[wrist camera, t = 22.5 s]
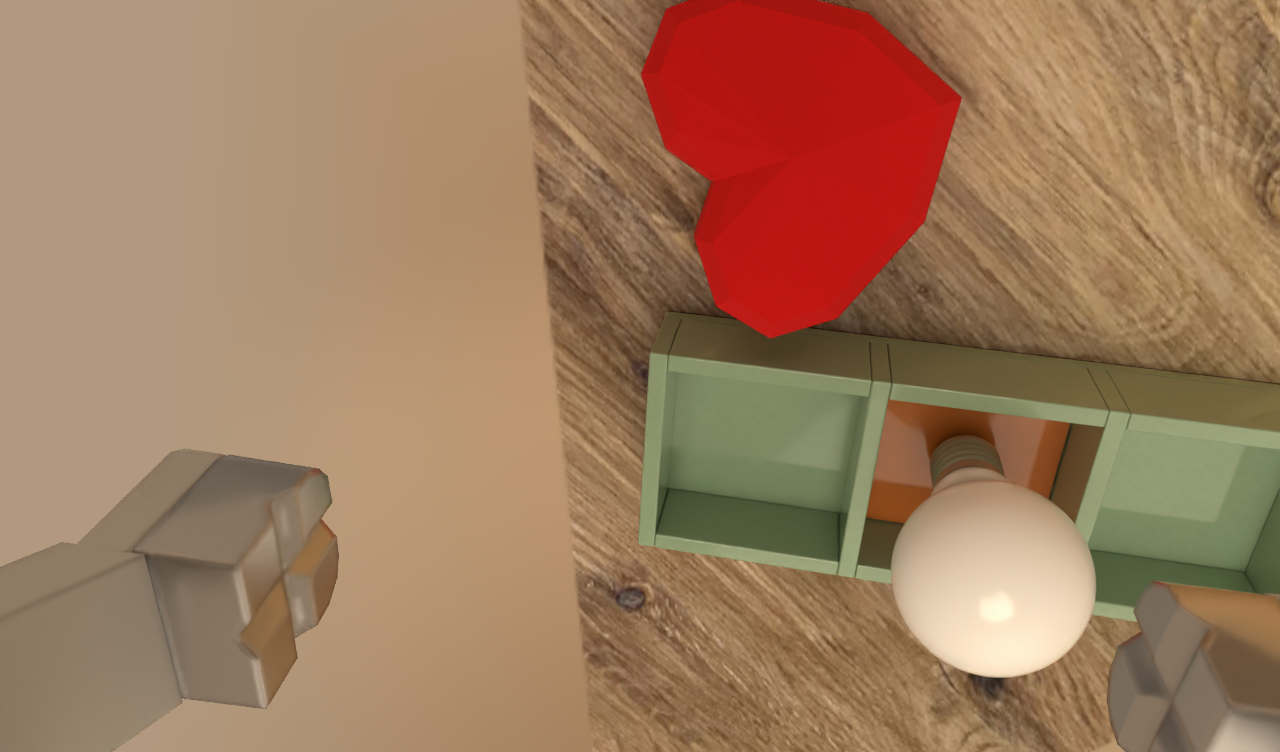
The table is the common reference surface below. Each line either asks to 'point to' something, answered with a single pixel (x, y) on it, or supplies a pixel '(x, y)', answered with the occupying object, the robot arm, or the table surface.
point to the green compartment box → (927, 416)
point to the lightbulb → (990, 568)
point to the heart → (797, 148)
